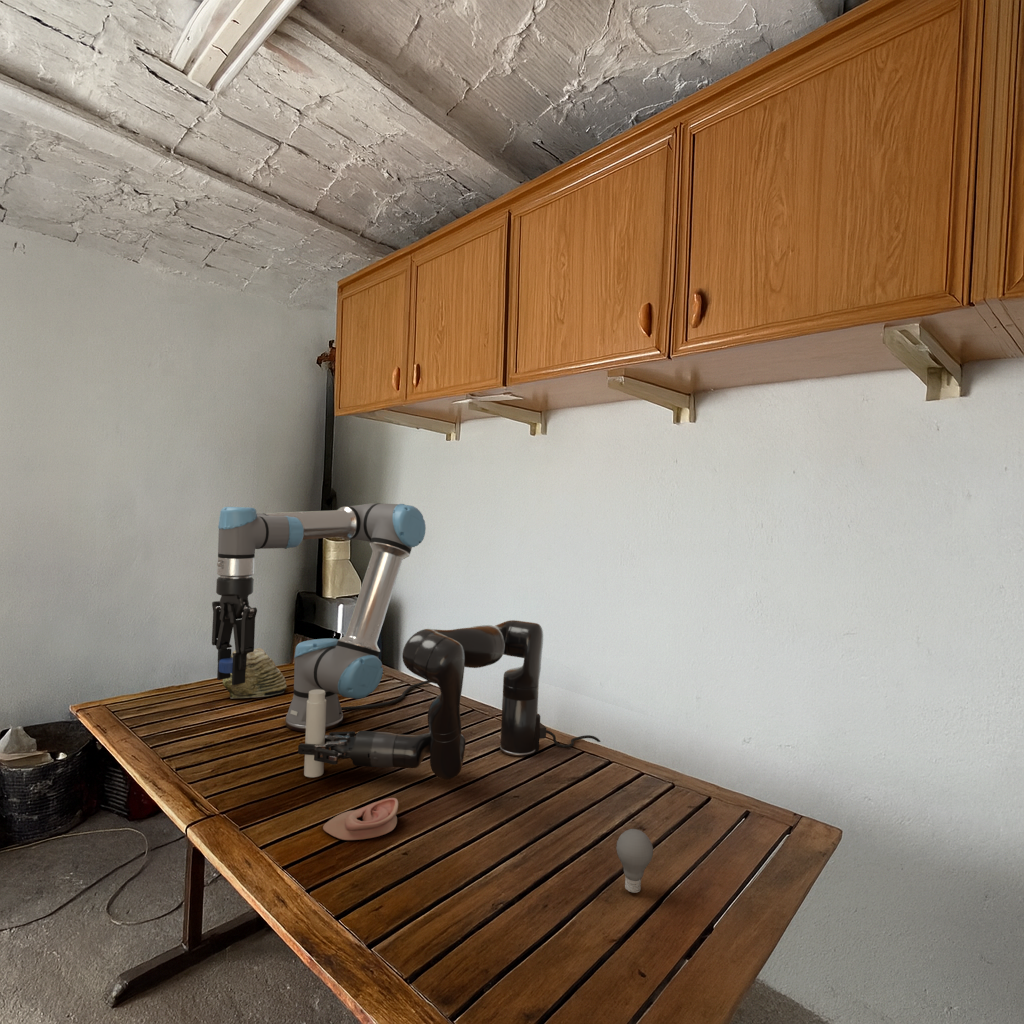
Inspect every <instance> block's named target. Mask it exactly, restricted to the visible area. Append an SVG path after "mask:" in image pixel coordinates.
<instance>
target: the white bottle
mask: <svg viewBox="0 0 1024 1024" xmlns="http://www.w3.org/2000/svg"><path fill="white" fill-rule="evenodd" d="M325 723H326V699H325V691H324V690H320V689H316V690H311V691H309V699H308V700H307V709H306V732H305V739H304V744H316V745H317V744H325V735H326V730H325ZM322 749H325V748H322ZM303 762H304V763H303V765H304V766H303V775H304V776H305V777H307V778H318V777H321V776H323V774H324V772H325V763H324V762H319V761H315V760H314V755H304V761H303Z"/></svg>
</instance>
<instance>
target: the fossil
mask: <svg viewBox="0 0 1024 1024" xmlns="http://www.w3.org/2000/svg"><path fill="white" fill-rule="evenodd" d="M233 653H236V651H235V650H233V651H232V652H231V658H232V657H233ZM222 685H223V687H224V688H225V690H226V691H228V693H229V698H230V699H250V698H264V697H271V696H275V695H281V694H284V693H285V691H286V689H287V687H288V686H287V680H286V678H285V676H284V674H283V673H282V672H281V669H279V668H278V667H277V665H276V663H275V662H274V660H273V659H272V658H271V657H270V656H269V655H268V654H267V653H266V652H265V650H264V649H263V648H260V647H258V648H254V651H253V652H250V653H248V654H247V663H246V673H245V683H242V684H237V685H232V673H230V678H227V679H222Z"/></svg>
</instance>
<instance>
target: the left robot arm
mask: <svg viewBox="0 0 1024 1024" xmlns="http://www.w3.org/2000/svg"><path fill="white" fill-rule="evenodd" d="M217 526H218V527H217V528H218V537H217V538H218V540H217V541H218V543H217V563H216V566H217V567H216V568H217V570H216V574H217V575H218V577H217V578H216V587H215V593H216V594H217V595H218V596H220V599H219V600H215V601H212V602H211V607H212V627H211V628H212V631H211V645H212V646H215V648H216V650H217V671H216V672H217V673H216V680H218V681H221V680H222V681H223V679H227V678H230V673H221V672H219V661H220V660H221V659H224V658H231V655H232V653H233V652H232V647H233V645H232V644H231V639H232V633H233V639H234V641H233V642H234V651H236V653H233V668H232V685H237V684H242V683H245V673H246V663H247V654H248V653H250V652H253V651H254V649H255V635H256V634H255V633H256V632H255V631H256V630H255V628H256V617H257V613H258V608H257V607H251V606H250V601H249V596H250V595H252V594H253V593H254V580H255V579H254V578H253V577H252V576H253V575H255V555H256V550H261V549H263V550H264V549H266V550H267V549H268V550H269V549H284V550H287V549H290V548H296V547H298V546H299V545H301V543H302V542H303V540H314V539H315V540H317V539H330V538H339V539H341V540H345V541H349V540H355V541H363V542H368V543H369V546H370V548H371V550H372V552H371V556H370V558H369V562H368V565H367V568H366V571H365V574H364V577H363V580H362V582H361V583H362V584H361V587H360V590H359V593H358V597H357V599H356V602H355V605H354V608H353V611H352V614H351V617H350V620H349V624H348V627H347V630H346V632H345V635H344V636H341V637H340V638H339V639H337V638H331V637H329V638H317V639H316V638H315V639H308V640H304V641H300V642H299V643H298V644H297V645H296V646H295V650H294V651H295V652H294V655H293V658H294V670H293V671H294V672H293V695H292V696H293V697H292V699H291V702H290V704H289V708H288V711H287V713H286V715H285V726H286V728H287V729H289V730H291V731H294V732H295V731H296V732H301V733H306V709H307V700H308V699H309V691H311V690H316V689H320V690H324V691H325V699H326V723H325V731H329V730H332V729H335V728H337V727H339V726H340V725H342V723H343V722H344V714H343V711H353V710H364V709H373V708H374V709H375V708H380V707H385V706H389V705H392V704H396V703H398V702H400V701H401V700H403V699H404V698H405V696H406V695H407V694H408V693H409V692H410V691H411V690H412V689H415V688H418V687H420V686H424V685H428V684H430V683H431V684H433V683H432V682H430V681H428V680H424V681H420V682H418V683H414V684H411V685H409V686H408V687H407V688H406V689H405V690H404V691H403V692H402V693H401V695H400V696H399V697H397V698H395V699H392V700H388V701H384V702H380V703H379V702H378V703H374V704H372V703H371V704H363V705H352V706H341V702H340V699H339V695H340V696H341V697H343V698H348V699H354V700H360V699H365V698H367V697H368V696H369V695H370V694H372V693H373V692H374V691H375V690H376V689H377V688H378V686H379V685H380V683H381V681H382V677H383V675H384V667H383V663H382V661H381V659H379V656H380V653H381V649H380V648H379V646H378V640H379V637H380V634H381V630H382V627H383V624H384V622H385V618H386V616H387V615H386V614H387V611H388V609H389V605H390V603H391V602H390V601H391V599H392V596H393V592H394V589H395V585H396V582H397V580H398V576H399V573H400V570H401V566H402V563H403V561H404V560H405V559H407V558H408V557H410V556H411V552H412V549H413V548H415V547H417V546H419V545H420V544H422V542H423V541H424V540H425V539H424V538H425V536H426V529H427V528H426V521H425V519H424V516H423V513H422V512H421V511H420V509H418V508H417V507H416V506H414V505H409V504H405V503H384V502H383V503H381V502H372V503H365V504H357V505H348V506H345V505H344V506H340V507H339V508H338V509H334V510H333V509H332V510H331V509H330V510H309V511H283V512H281V511H280V512H257V509H256V508H255V507H247V506H245V507H244V506H224V507H222V508H221V509H220V513H219V520H218V525H217Z"/></svg>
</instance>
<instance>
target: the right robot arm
mask: <svg viewBox="0 0 1024 1024" xmlns="http://www.w3.org/2000/svg"><path fill="white" fill-rule="evenodd" d="M543 647H544V630H543V627H542V625H540V624H539V623H538V622H531V621H523V620H517V619H516V620H515V619H512V620H511V619H510V620H506V621H503V622H500V623H497V624H495V625H492V624H483V625H482V624H481V625H475V626H470V627H460V628H453V629H437V628H423V629H421V630H418V631H416V632H415V633H413V634H412V635H411V636H410V637H409V639H408V640H407V641H406V642H405V644H404V647H403V649H402V662H403V664H404V666H405V668H406V669H407V670H408V671H410V672H411V673H412V674H414V675H415V676H417V677H420V678H422V679H423V680H425V681H427V680H428V681H430V682H432V683H431V684H435V685H437V686H438V688H439V691H440V694H438V695H437V696H436V697H435V698H434V699H433V701H431V703H430V705H429V707H428V710H427V726H428V732H426V733H421V734H415V735H414V734H412V735H411V734H398V733H393V732H386V731H370V730H359V731H357V732H356V731H354V730H351V731H349V730H348V731H331V732H329V733H328V734H325V744H317V745H316V744H305V742H304V743H303V742H301V743H299V744H298V746H297V753H298V755H304V756H305V755H314V760H315V761H319V762H324V764H329V765H338V764H339V761H340V760H345V759H350V760H351V761H352V764H353V766H355V767H366V768H379V769H380V768H381V769H385V768H399V769H400V768H401V769H417V768H419V767H420V765H421V764H422V762H423V760H424V759H425V757H426V756H427V755H429V764H430V769H431V771H432V773H433V774H434V776H436V777H437V778H438V779H441V780H444V781H449V780H453V779H455V778H456V777H458V776H459V775H460V773H461V771H462V769H463V764H464V759H465V758H464V757H465V751H466V744H467V743H466V738H465V736H464V735H463V734H462V732H463V730H462V719H461V718H462V717H461V699H462V698H461V697H462V693H463V692H462V691H463V685H464V676H465V668H468V669H469V668H470V669H480V668H483V667H484V668H485V667H488V666H491V665H494V664H497V662H499V661H500V660H501V659H502V657H503V656H508V657H514V658H519V659H520V658H521V659H523V663H522V665H521V666H517V667H513V668H509V669H507V670H505V671H504V673H503V678H502V701H501V703H502V704H501V707H502V708H501V722H500V723H501V725H500V739H499V740H500V742H499V743H500V745H499V751H500V752H502V753H503V754H505V755H508V756H512V757H529V756H532V755H534V754H536V753H539V752H540V740H541V739H547V734H548V735H550V736H551V737H552V740H553V744H554V745H555V746H557V747H558V748H559V747H560V748H565V749H566V748H572V747H573V746H575V742H576V741H580V740H585V739H592V740H594V741H596V742H597V743H602V742H601V740H600V738H598V737H597V736H594V735H588V734H585V735H580V736H576V737H573V738H572V739H570V743H568V744H562V743H559V742H557V737H556V735H555V734H554V732H552V731H550V730H548V729H547V727H546V725H544V724H543V723H541V714H540V713H538V712H539V711H538V710H539V688H540V685H539V684H540V677H541V669H542V657H543ZM322 748H325V749H322Z"/></svg>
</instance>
